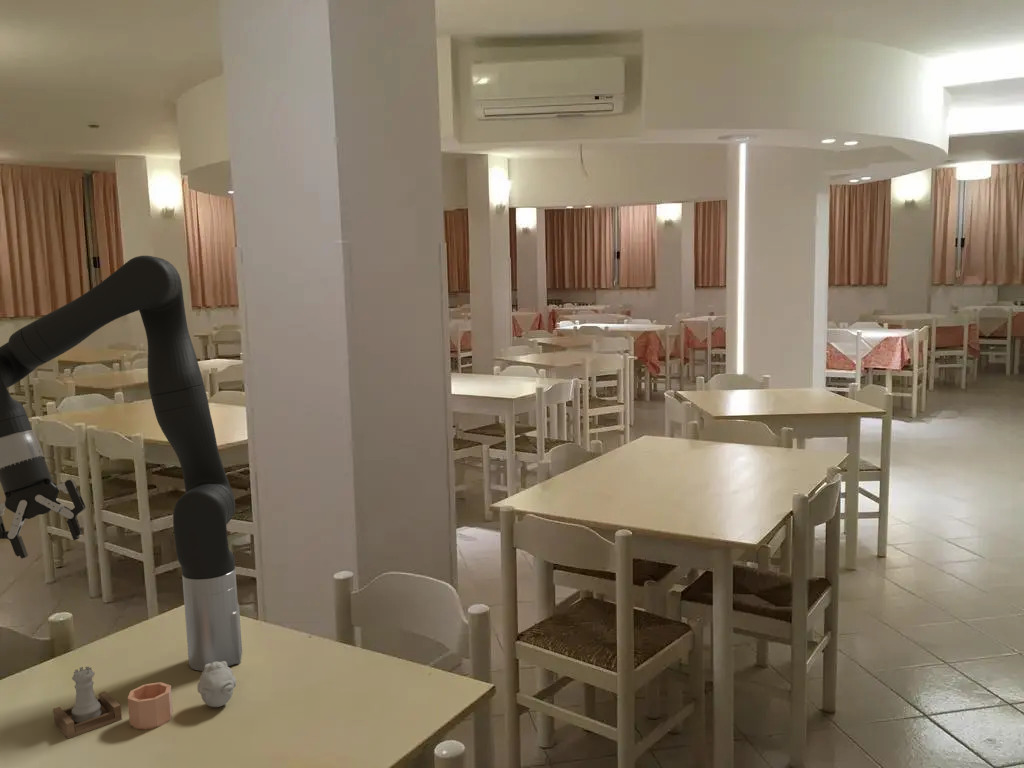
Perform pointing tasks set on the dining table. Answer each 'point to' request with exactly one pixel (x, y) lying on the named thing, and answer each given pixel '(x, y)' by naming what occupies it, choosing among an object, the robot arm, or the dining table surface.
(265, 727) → the dining table surface
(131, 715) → the cup
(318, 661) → the dining table surface
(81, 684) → the rook chess piece
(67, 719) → the trough
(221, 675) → the frog figurine
